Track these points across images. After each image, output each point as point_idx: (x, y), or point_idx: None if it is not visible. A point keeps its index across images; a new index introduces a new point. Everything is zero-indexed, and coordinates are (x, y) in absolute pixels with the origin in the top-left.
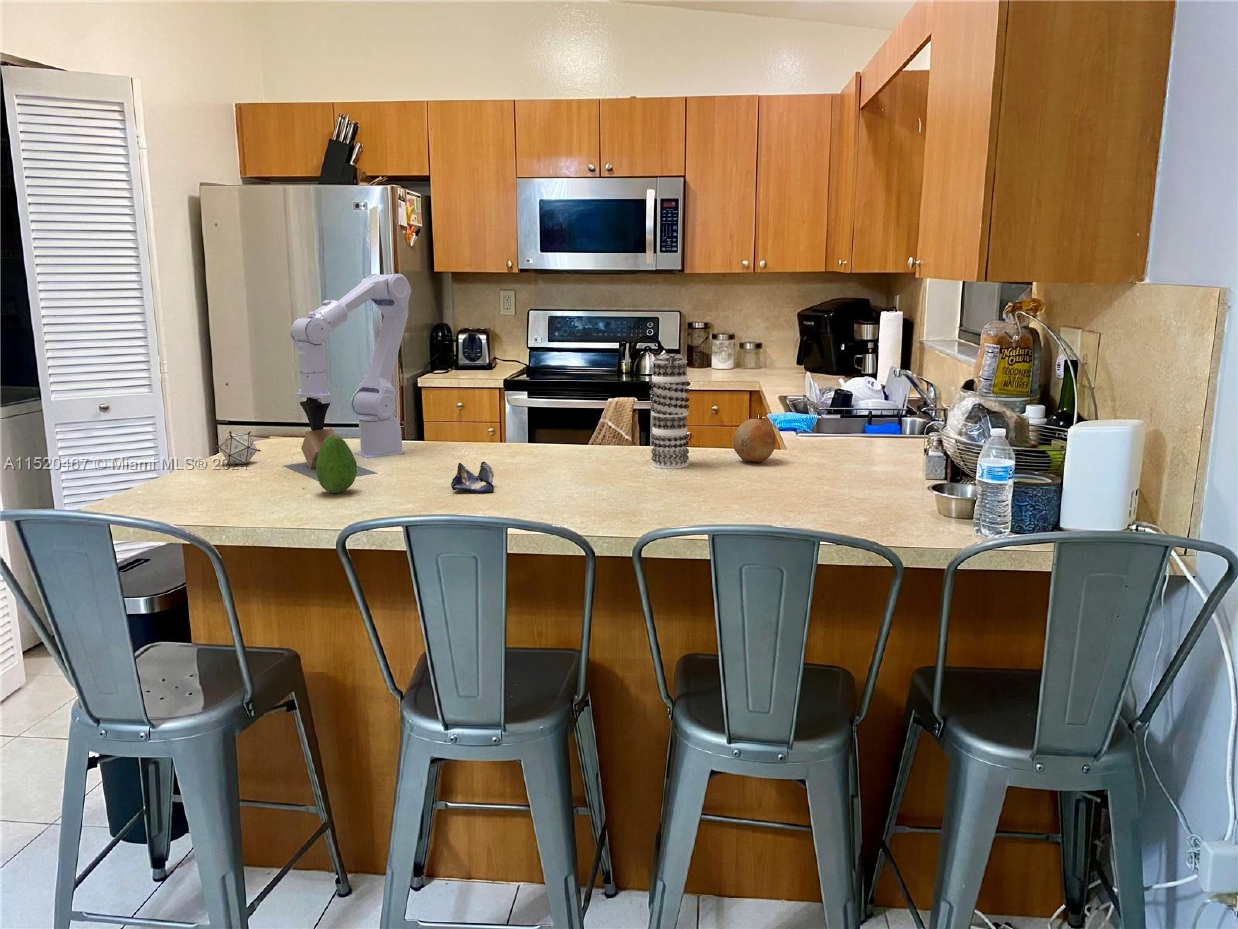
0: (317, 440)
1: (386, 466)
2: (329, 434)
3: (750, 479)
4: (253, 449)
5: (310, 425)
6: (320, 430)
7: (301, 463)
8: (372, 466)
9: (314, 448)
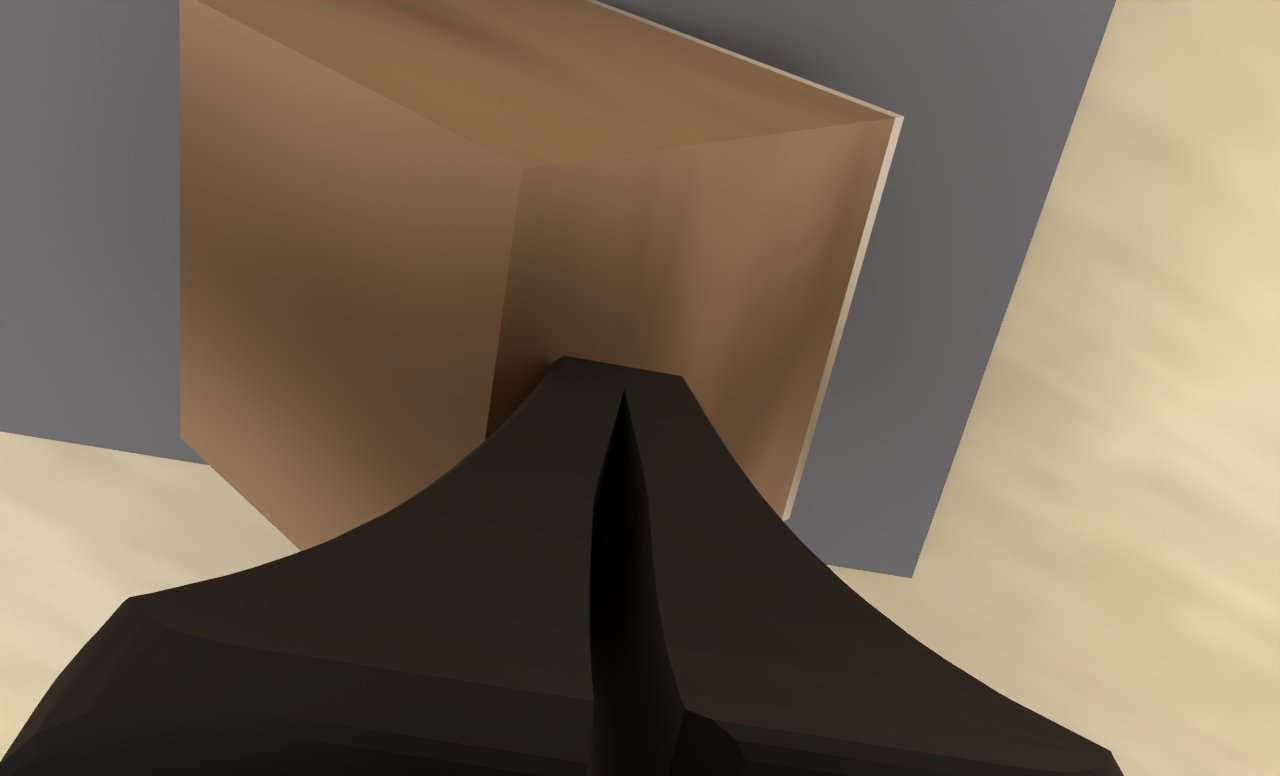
0: (321, 211)
1: (78, 649)
2: None
3: None
4: None
5: (659, 413)
6: None
7: (1031, 138)
8: (189, 574)
9: (226, 24)
